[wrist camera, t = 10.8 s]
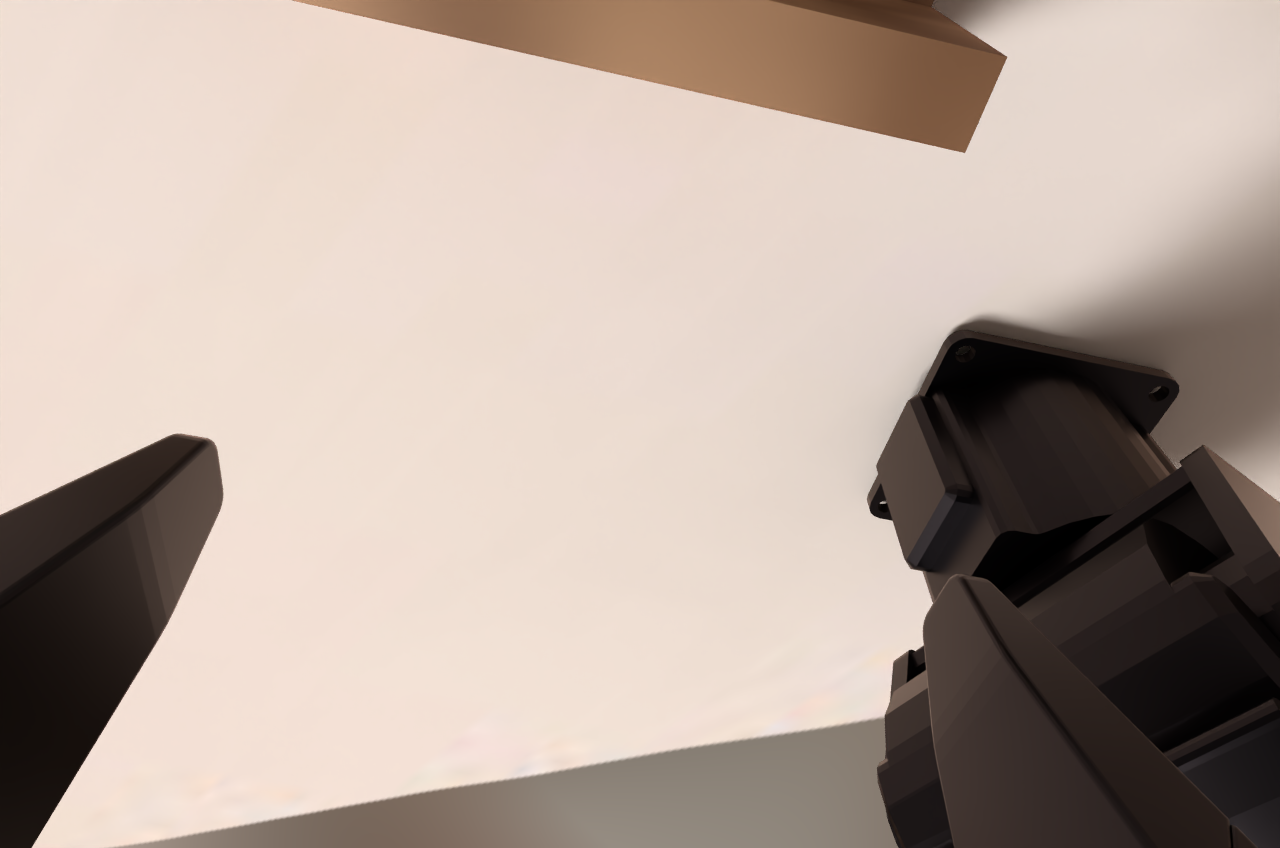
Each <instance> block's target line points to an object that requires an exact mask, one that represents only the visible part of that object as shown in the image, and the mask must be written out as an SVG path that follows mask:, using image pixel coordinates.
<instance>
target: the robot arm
mask: <svg viewBox="0 0 1280 848" xmlns="http://www.w3.org/2000/svg"><path fill="white" fill-rule="evenodd" d="M963 346H971V348H970V349H969V350H968V352H966V353H964V354H962V355H957V354H956V352H957V351H958V349H959V348H961V347H963ZM1159 386H1161V388H1160V389H1159V390H1158V391H1156V392H1154V393H1150V392H1151V391H1152V390H1153V389H1154V388H1156V387H1159ZM1178 393H1179V385H1178V384H1177V382H1176V381H1175V380H1174V379H1173V378H1172V377H1171V375H1170V374H1169V373H1167V372H1165V371H1162V370H1157V369H1152V368H1148V367H1143V366H1138V365H1133V364H1128V363H1124V362H1119V361H1114V360H1109V359H1104V358H1099V357H1095V356H1090V355H1085V354H1080V353H1075V352H1071V351H1066V350H1061V349H1056V348H1051V347H1047V346H1042V345H1037V344H1032V343H1027V342H1022V341H1018V340H1013V339H1008V338H1003V337H998V336H994V335H989V334H984V333H979V332H974V331H969V330H961V331H958V332H955V333H953V334H951V335H950V336H949V337H947V339H946V340H945V341H944V343H943V345H942V347H941V349H940V351H939V353H938V355H937V357H936V359H935V361H934V363H933V365H932V367H931V369H930V371H929V373H928V375H927V377H926V379H925V381H924V383H923V385H922V387H921V389H920V391H919V393H918V395H915V396H914V397H912V398H911V399H910V400H908V402H907V403H906V406H905V408H904V410H903V412H902V414H901V416H900V418H899V420H898V422H897V424H896V426H895V428H894V430H893V432H892V434H891V436H890V438H889V440H888V442H887V444H886V446H885V448H884V450H883V452H882V454H881V457H880V459H879V461H878V463H877V466H876V468H877V471H878V476H877V478H876V480H875V482H874V484H873V486H872V488H871V490H870V492H869V494H868V497H867V501H868V505H869V509H870V512H871V513H872V514H873V515H874V516H875V517H878V518H882V519H887V520H892V521H893V523H894V526H895V530H896V533H897V536H898V539H899V543H900V546H901V549H902V552H903V556H904V559H905V560H906V562H907V564H908V565H909V567H910V568H911V569H914V570H919V571H923V574H924V577H925V580H926V583H927V586H928V589H929V592H930V595H931V598H932V601H933V605H932V607H931V608H930V610H929V611H928V613H927V615H926V617H925V620H924V625H923V640H924V646H922V647H921V648H919V649H918V650H916V651H914V650H909V651H908V652H906V653H905V654H903V655H902V656H900V657H899V658H898V659H896V660H895V661H894V663H893V673H892V685H891V697H890V703H889V706H888V708H887V711H886V714H885V734H886V735H885V736H886V755H885V760H883V761H882V762H880V763H879V765H878V767H877V778H878V785H879V788H880V791H881V795H882V798H883V801H884V804H885V808H886V813H887V818H888V822H889V824H890V827H891V830H892V832H893V835H894V838H895V840H896V843H897V845H898V847H899V848H1280V502H1278V501H1277V500H1276V499H1274V498H1273V497H1272V496H1271V495H1269V494H1268V493H1267V492H1265V491H1264V490H1263V489H1261V488H1260V487H1259V486H1257V485H1256V484H1255V483H1253V482H1252V481H1251V480H1250V479H1248V478H1247V477H1246V476H1244V475H1243V474H1242V473H1240V472H1239V471H1238V470H1236V469H1235V468H1234V467H1232V466H1231V465H1230V464H1229V463H1227V462H1226V461H1225V460H1223V459H1222V458H1221V457H1219V456H1218V455H1217V454H1215V453H1214V452H1213V451H1211V450H1210V449H1209V448H1208V447H1206V446H1205V445H1202V446H1201V447H1200V448H1198V449H1197V450H1195V451H1194V452H1192V453H1191V454H1189V455H1188V456H1187V457H1185V458H1184V459H1182V460H1181V461H1180V463H1181V465H1182V466H1181V467H1180V468H1179V469H1176V468H1175V466H1174V465H1173V464H1172V463H1171V461H1170V460H1169V459H1168V458H1167V456H1166V455H1165V454H1164V452H1163V451H1162V450H1161V449H1160V447H1159V446H1158V445H1157V444H1156V442H1155V441H1154V440H1153V439H1152V437H1151V436H1150V435H1149V434H1150V433H1151V431H1152V430H1153V429H1154V427H1155V426H1156V424H1157V423H1158V422H1159V420H1160V419H1161V418H1162V416H1163V415H1164V413H1165V412H1166V411H1167V409H1168V408H1169V407H1170V405H1171V404H1172V403H1173V401H1174V400H1175V398H1176V397H1177V395H1178ZM884 500H887V503H885V504H880V502H882V501H884ZM222 501H223V485H222V478H221V471H220V465H219V458H218V451H217V447H216V445H215V443H214V442H213V441H212V440H210V439H208V438H203V437H198V436H192V435H186V434H173V435H170V436H168V437H165V438H163V439H161V440H159V441H157V442H155V443H153V444H151V445H148V446H146V447H144V448H142V449H140V450H138V451H136V452H134V453H131V454H129V455H127V456H125V457H123V458H121V459H119V460H116V461H114V462H112V463H110V464H108V465H106V466H104V467H102V468H99V469H97V470H95V471H93V472H91V473H89V474H87V475H85V476H82V477H80V478H78V479H76V480H74V481H72V482H70V483H67V484H65V485H63V486H61V487H59V488H57V489H55V490H53V491H50V492H48V493H46V494H44V495H42V496H40V497H38V498H35V499H33V500H31V501H29V502H27V503H25V504H23V505H21V506H18V507H16V508H14V509H12V510H10V511H8V512H6V513H4V514H1V515H0V848H32V846H33V844H34V843H35V841H36V840H37V838H38V836H39V835H40V833H41V831H42V830H43V828H44V826H45V825H46V823H47V822H48V820H49V818H50V817H51V815H52V813H53V812H54V810H55V808H56V807H57V805H58V803H59V802H60V800H61V799H62V797H63V795H64V794H65V792H66V790H67V789H68V787H69V785H70V784H71V782H72V781H73V779H74V777H75V776H76V774H77V772H78V771H79V769H80V767H81V766H82V764H83V762H84V761H85V759H86V758H87V756H88V754H89V753H90V751H91V749H92V748H93V746H94V744H95V743H96V741H97V740H98V738H99V736H100V735H101V733H102V731H103V730H104V728H105V726H106V725H107V723H108V721H109V720H110V718H111V717H112V715H113V713H114V712H115V710H116V708H117V707H118V705H119V703H120V702H121V700H122V699H123V697H124V695H125V694H126V692H127V690H128V689H129V687H130V685H131V684H132V682H133V680H134V679H135V677H136V676H137V674H138V672H139V671H140V669H141V667H142V666H143V664H144V662H145V661H146V659H147V658H148V656H149V654H150V653H151V651H152V649H153V648H154V646H155V644H156V643H157V641H158V639H159V638H160V636H161V634H162V632H163V631H164V629H165V627H166V625H167V624H168V622H169V620H170V618H171V616H172V614H173V612H174V610H175V608H176V606H177V603H178V601H179V599H180V597H181V595H182V592H183V590H184V588H185V586H186V584H187V582H188V579H189V577H190V575H191V573H192V571H193V569H194V566H195V564H196V562H197V560H198V558H199V555H200V553H201V551H202V549H203V547H204V545H205V542H206V540H207V538H208V536H209V534H210V532H211V529H212V527H213V525H214V523H215V521H216V518H217V516H218V514H219V512H220V509H221V506H222Z"/></svg>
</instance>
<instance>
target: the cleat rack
mask: <svg viewBox="0 0 1280 848" xmlns="http://www.w3.org/2000/svg"><path fill="white" fill-rule="evenodd" d="M293 1H297V2H301V3H306V4H310V5H315V6H319V7H323V8H328V9H332V10H337V11H341V12H345V13H350V14H354V15H359V16H363V17H368V18H372V19H376V20H381V21H385V22H390V23H394V24H398V25H403V26H407V27H412V28H416V29H420V30H425V31H429V32H434V33H438V34H443V35H447V36H451V37H456V38H460V39H465V40H469V41H473V42H478V43H482V44H487V45H491V46H496V47H500V48H504V49H509V50H513V51H518V52H522V53H526V54H531V55H535V56H540V57H544V58H548V59H553V60H557V61H562V62H566V63H571V64H575V65H579V66H584V67H588V68H593V69H597V70H601V71H606V72H610V73H615V74H619V75H623V76H628V77H632V78H637V79H641V80H646V81H650V82H654V83H659V84H663V85H668V86H672V87H676V88H681V89H685V90H690V91H694V92H698V93H703V94H707V95H712V96H716V97H721V98H725V99H729V100H734V101H738V102H743V103H747V104H751V105H756V106H760V107H765V108H769V109H773V110H778V111H782V112H787V113H791V114H796V115H800V116H804V117H809V118H813V119H818V120H822V121H826V122H831V123H835V124H840V125H844V126H848V127H853V128H857V129H862V130H866V131H871V132H875V133H879V134H884V135H888V136H893V137H897V138H901V139H906V140H910V141H915V142H919V143H924V144H928V145H932V146H937V147H941V148H946V149H950V150H954V151H959V152H963V153H965V152H966V149H967V147H968V145H969V143H970V140H971V138H972V136H973V133H974V131H975V129H976V127H977V124H978V122H979V120H980V118H981V115H982V113H983V111H984V109H985V106H986V104H987V102H988V100H989V97H990V95H991V93H992V91H993V88H994V86H995V84H996V81H997V79H998V77H999V75H1000V72H1001V70H1002V68H1003V66H1004V63H1005V61H1006V59H1007V57H1006V56H1005V55H1003V54H1002V53H1000V52H999V51H997V50H996V49H994V48H993V47H991V46H990V45H988V44H987V43H985V42H984V41H982V40H981V39H979V38H978V37H976V36H974V35H973V34H971V33H970V32H968V31H967V30H965V29H964V28H962V27H961V26H959V25H958V24H956V23H955V22H953V21H952V20H950V19H949V18H947V17H946V16H944V15H943V14H941V13H940V12H938V11H936V10H935V9H933V8H932V7H931V6H932V4H933V1H934V0H293Z"/></svg>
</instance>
